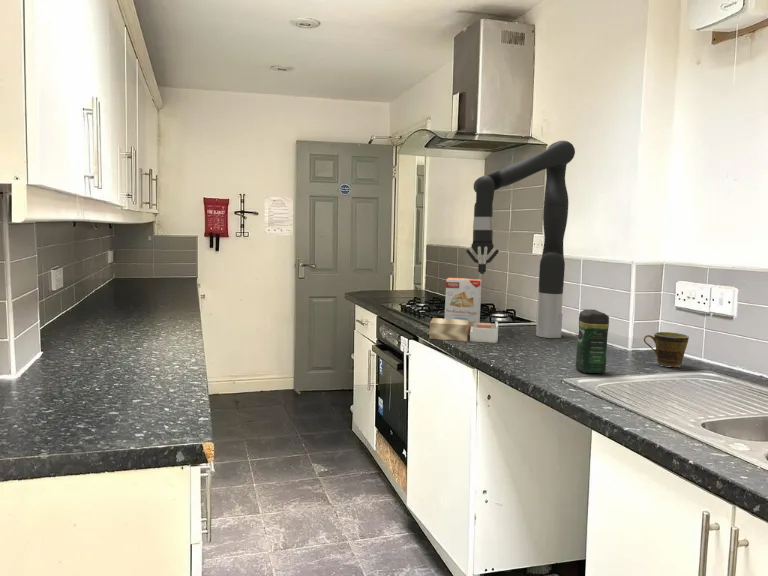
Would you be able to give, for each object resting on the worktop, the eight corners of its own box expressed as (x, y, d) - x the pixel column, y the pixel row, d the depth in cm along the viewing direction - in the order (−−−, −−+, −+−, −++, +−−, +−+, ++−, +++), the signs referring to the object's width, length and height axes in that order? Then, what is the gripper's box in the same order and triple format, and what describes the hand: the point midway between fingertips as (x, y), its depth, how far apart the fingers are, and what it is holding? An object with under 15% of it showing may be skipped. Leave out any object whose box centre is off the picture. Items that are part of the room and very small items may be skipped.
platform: (468, 335, 237) (468, 320, 237) (467, 341, 225) (467, 324, 225) (432, 333, 239) (432, 318, 239) (429, 338, 228) (429, 322, 227)
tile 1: (490, 329, 232) (490, 323, 232) (490, 331, 227) (491, 325, 227) (476, 329, 233) (477, 322, 232) (477, 331, 228) (477, 324, 227)
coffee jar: (609, 375, 179) (613, 312, 177) (582, 374, 179) (586, 312, 177) (597, 367, 189) (602, 308, 187) (572, 366, 189) (576, 307, 187)
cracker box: (443, 329, 249) (445, 278, 247) (445, 326, 255) (447, 277, 253) (478, 331, 246) (480, 280, 243) (479, 329, 252) (481, 278, 249)
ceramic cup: (682, 363, 198) (685, 333, 197) (689, 370, 188) (692, 338, 187) (639, 360, 201) (642, 330, 200) (644, 366, 192) (646, 335, 190)
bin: (496, 336, 235) (497, 321, 235) (497, 342, 224) (498, 326, 223) (470, 335, 237) (471, 320, 236) (469, 341, 225) (470, 325, 225)
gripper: (499, 229, 237) (498, 273, 239) (465, 228, 239) (464, 272, 241) (500, 229, 230) (499, 274, 232) (465, 228, 232) (464, 274, 234)
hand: (481, 273), depth 236 cm, fingers closed
